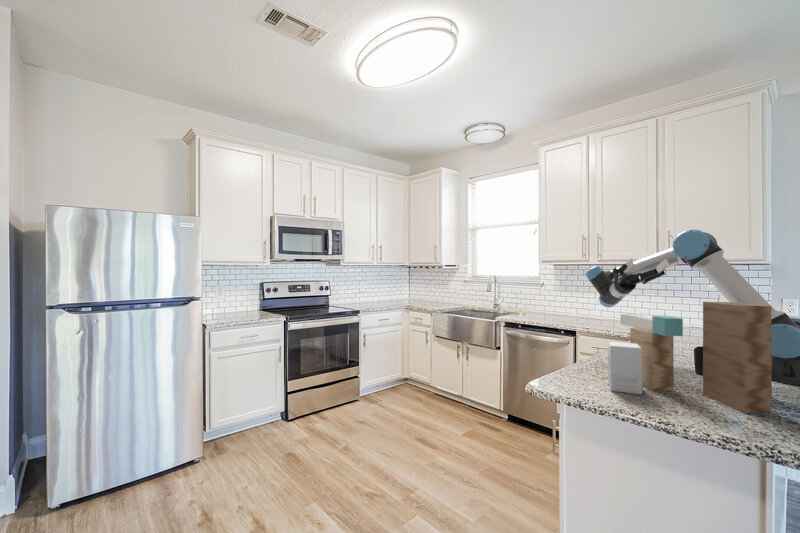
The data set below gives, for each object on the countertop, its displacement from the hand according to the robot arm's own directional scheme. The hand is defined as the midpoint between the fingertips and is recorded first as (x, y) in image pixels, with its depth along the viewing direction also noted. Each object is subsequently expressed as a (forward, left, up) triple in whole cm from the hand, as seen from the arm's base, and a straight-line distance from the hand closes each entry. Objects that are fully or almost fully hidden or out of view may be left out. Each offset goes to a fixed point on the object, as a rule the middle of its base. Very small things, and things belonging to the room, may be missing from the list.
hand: (649, 261), depth 144 cm
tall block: (-4, +33, -44) cm, 55 cm away
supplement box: (+22, +21, -44) cm, 53 cm away
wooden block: (+10, +16, -44) cm, 48 cm away
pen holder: (-22, +1, -44) cm, 49 cm away
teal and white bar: (+10, +14, -25) cm, 30 cm away
